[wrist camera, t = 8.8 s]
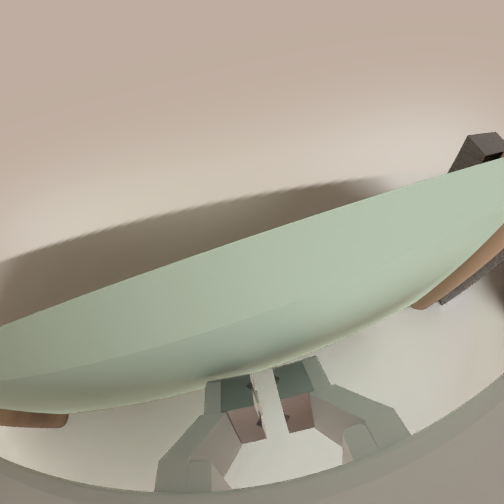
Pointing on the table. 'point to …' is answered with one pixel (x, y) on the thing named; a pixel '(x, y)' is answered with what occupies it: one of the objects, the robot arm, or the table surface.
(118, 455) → the table surface
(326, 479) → the robot arm
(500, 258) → the latch post
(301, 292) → the gate
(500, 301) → the table surface
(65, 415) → the wooden hinge block
